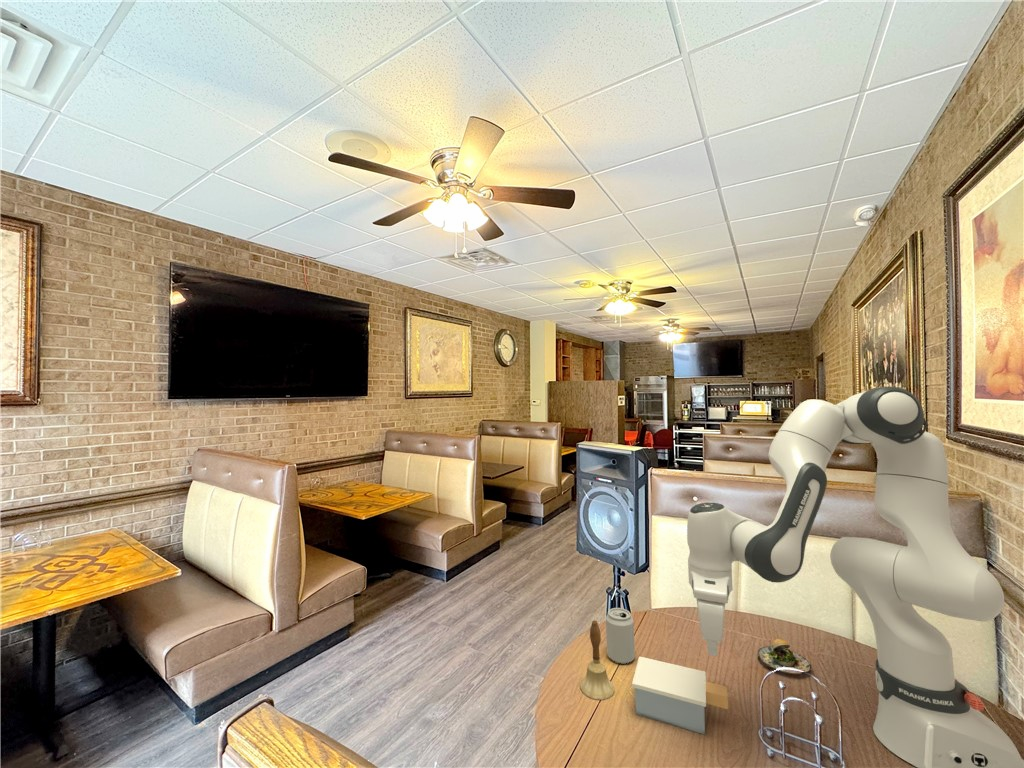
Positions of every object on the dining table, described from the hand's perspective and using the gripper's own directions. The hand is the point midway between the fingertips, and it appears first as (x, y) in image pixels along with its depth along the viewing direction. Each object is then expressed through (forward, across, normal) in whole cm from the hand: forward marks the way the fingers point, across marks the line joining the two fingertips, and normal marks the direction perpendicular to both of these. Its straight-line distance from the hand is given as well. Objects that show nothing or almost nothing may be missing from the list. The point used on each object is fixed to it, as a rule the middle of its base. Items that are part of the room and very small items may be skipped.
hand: (712, 642), depth 89 cm
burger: (+16, -29, +17) cm, 38 cm away
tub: (+17, 0, -9) cm, 19 cm away
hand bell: (+17, 0, -26) cm, 31 cm away
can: (+17, -15, -23) cm, 32 cm away
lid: (+12, 0, -7) cm, 14 cm away
